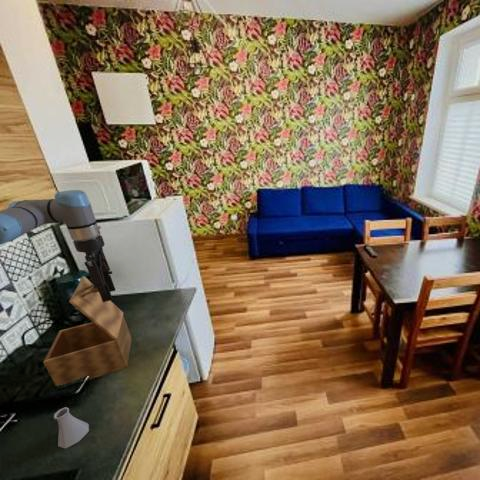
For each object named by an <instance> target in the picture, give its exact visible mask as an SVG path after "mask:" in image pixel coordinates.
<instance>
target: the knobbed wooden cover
mask: <svg viewBox="0 0 480 480" xmlns="http://www.w3.org/2000/svg"><path fill="white" fill-rule="evenodd" d="M93 286H94V285H93V283H92V281H90V280H89V279H88V278H87V277H86V276H83V277H82V278H81V279H80V281H79V283H78V285H77V287H76V288H75V289H74V292H73V294H72V295H71V298H70V300H69V301H68V302H69V303H70V304H71V305H72V306H73V307H74V308H76V309H77V310H78V311H79V312H81V313H82V315H84V316H85V317H86V318H87V319H88V320H89V321H90V320H91V321H93V322H94V323H95V324H96V325H97V326H99V327H100V328H101V329H102V330H103V331H105V332H106V333H107V334H108V335H109V336H111V337H112V338H113V339H114V340H115V341H116V340H117V339H118V335H119V331H120V326H121V322H122V317H123V316H124V311H122V310H121V309H120V308H119V307H118V306H117V305H116V304H115V303H114V302H112V300H110V301H106V302H103V301H102V298H101V296H100V293H99V291H98V288H93ZM91 321H90V322H91Z"/></svg>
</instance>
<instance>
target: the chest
mask: <svg viewBox="0 0 480 480" xmlns="http://www.w3.org/2000/svg"><path fill="white" fill-rule="evenodd" d="M50 346H51V347H50V348H49V351H48V352H47V354H46V356H45V358H44V361H42V363H43V365H44V367H45V369H46V370H47V372H48V374H49V376H50V378H51V379H52V382H53V383H54V385H55V387H56V386H59V385H63V384H67V383H70V382H72V381H75V380H78V379H80V378H83V377H85V376H89V380H88V381H90V380H93V379H96V378H99V377H103V376H105V375H108V374H111V373H114V372H117V371H120V370H123V369H127V368H128V365H129V360H130V359H129V358H130V351H131V346H132V336H131V333H130V331H129V327H128V324H127V322H126V318H125V316H124V315H123V317H122V322H121V326H120V331H119V335H118V339H117V340H116V341H115V340H114V339H113V338H112V337H111V336H109V335H108V334H107V333H106V332H105V331H103V330H102V329H101V328H100V327H99V326H97V325H96V324H95V323H94V322H91V321H90V322H88V323H84V324H83V323H82V324H80V325H76V326H72V327H69V328H65V329H60V330H59V331H58V333H57V334H56V337H55V339H54V341H53V342H52V345H50Z"/></svg>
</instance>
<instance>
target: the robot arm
mask: <svg viewBox="0 0 480 480" xmlns="http://www.w3.org/2000/svg"><path fill="white" fill-rule="evenodd" d="M61 223H64V225H65V226H66V229H67V231H68V234H69V236H70V239H71V240H72V243H73V245H74V248H75V250H76V251H77V252H78V253H83V254H85V256H84V259H85V261H84V265H85V267H86V269H87V272H88V275H89V277H90V280H91V283H92V284H93V285H94V286H93V288H98V291H99V293H100V296H101V298H102V301H103V302H106V301H113V296H112V294H111V292H115V291H116V287H115V284H114V281H113V279H112V276H111V275H113V271H112V270H111V268H110V266H109V265H110V264H109V263H108V260H107V257H106V255H105V253H104V249H103V247H104V246H105V241H104V238H103V236H102V235H101V230H100V229H101V228H102V227H101V226H100V225H98V222H97V219H96V217H95V214H94V210H93V208H92V203H91V201H90V199H89V197H88V195H87V193H86V192H85V191H84V190H82V189H71V190H63V191H58V192H55V194H54V198H47V199H45V198H44V199H23V200H17V201H12V202H10V203H9V204H8V206H7V207H6V208H5V209H2V210H0V245H3V244H6V243H9V242H13V241H14V240H16V239H18V238H19V237H21V236H23V235H26V234H28V233H30V232H32V231H33V230H37V228H39V227H43V226H44V225H48V224H61Z"/></svg>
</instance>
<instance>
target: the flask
mask: <svg viewBox="0 0 480 480" xmlns="http://www.w3.org/2000/svg"><path fill="white" fill-rule="evenodd" d="M53 414H54V415H53V419H54V420H56V421H57V423H58V440H57V447H59V448H62V449H68V448H70V447H72V446H74V445H75V444H77V443H79V442H80V441H82V439H83V438H84V437H85V436H86V435H87V434H88V433H89V432H90V425H89V423H88V422H85V421H83V420H81V419H78V418H77V417H75V416H73V415H72V414H71V413H70V408H69V407H66V406H65V407H63V408H60V409H58V410H57V411H56V412H55V413H53Z"/></svg>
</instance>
